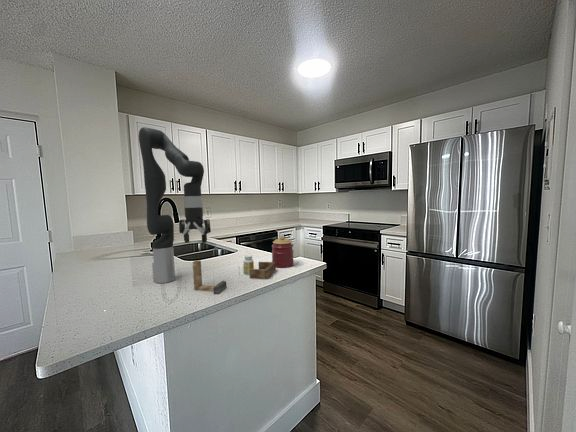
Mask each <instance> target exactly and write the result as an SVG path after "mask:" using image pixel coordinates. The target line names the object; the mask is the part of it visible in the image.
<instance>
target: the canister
mask: <svg viewBox="0 0 576 432" xmlns="http://www.w3.org/2000/svg"><path fill="white" fill-rule="evenodd" d="M292 242H293V241H292V240H290V238H285V236H284V235H280V237H279V238H276V239H275V240H273V241H272V243H273V244H272V245H271V249H272V251H271V256H272V257H271V260H272V261H271V262H276V268H278V269H284V268H285V269H286V268H291V267H292V266H294V249H293V247H294V244H292Z"/></svg>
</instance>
